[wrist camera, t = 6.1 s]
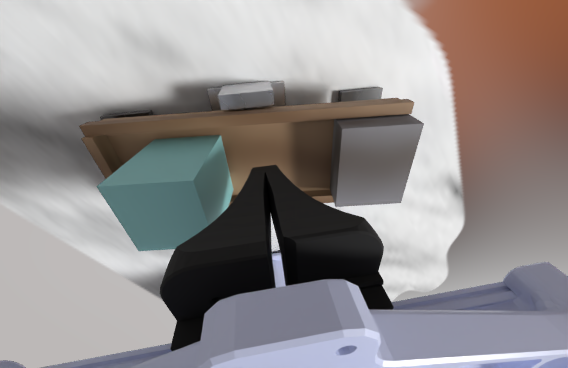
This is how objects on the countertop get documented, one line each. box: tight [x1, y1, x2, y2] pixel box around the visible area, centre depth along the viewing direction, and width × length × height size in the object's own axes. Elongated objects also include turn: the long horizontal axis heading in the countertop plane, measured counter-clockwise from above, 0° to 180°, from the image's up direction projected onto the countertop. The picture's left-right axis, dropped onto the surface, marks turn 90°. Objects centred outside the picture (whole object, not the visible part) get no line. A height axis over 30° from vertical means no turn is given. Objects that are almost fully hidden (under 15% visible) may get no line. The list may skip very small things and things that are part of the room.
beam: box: [79, 98, 424, 207], centre depth 14 cm, size 6×18×4 cm, turn 94°
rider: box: [97, 135, 234, 251], centre depth 12 cm, size 4×4×5 cm
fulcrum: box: [100, 81, 383, 120], centre depth 16 cm, size 8×19×3 cm, turn 94°
